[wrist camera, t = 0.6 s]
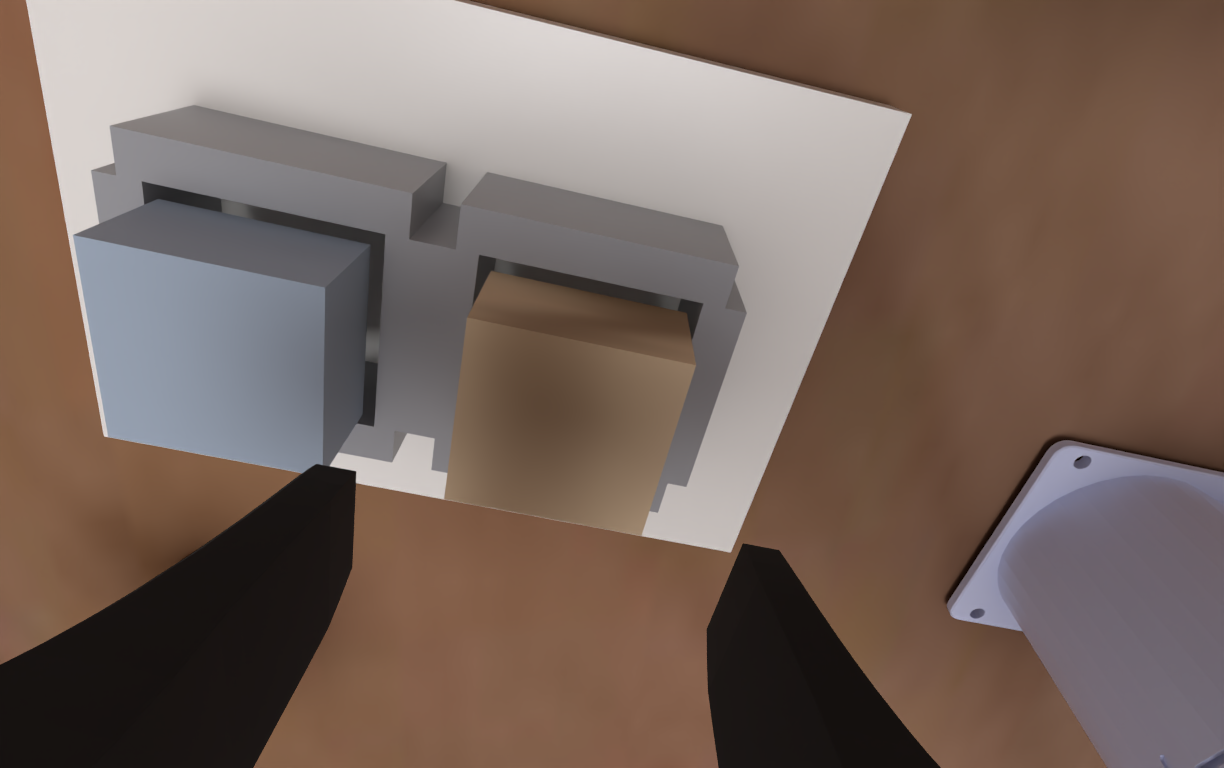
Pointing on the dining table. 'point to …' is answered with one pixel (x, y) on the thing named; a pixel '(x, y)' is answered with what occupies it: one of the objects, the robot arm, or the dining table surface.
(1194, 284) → the dining table surface
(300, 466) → the key slate
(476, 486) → the key oak
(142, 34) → the key panel
